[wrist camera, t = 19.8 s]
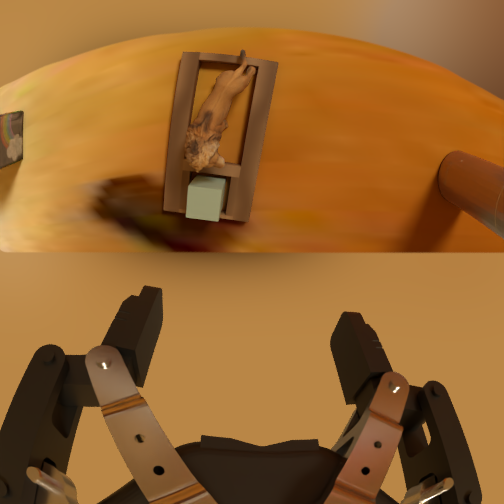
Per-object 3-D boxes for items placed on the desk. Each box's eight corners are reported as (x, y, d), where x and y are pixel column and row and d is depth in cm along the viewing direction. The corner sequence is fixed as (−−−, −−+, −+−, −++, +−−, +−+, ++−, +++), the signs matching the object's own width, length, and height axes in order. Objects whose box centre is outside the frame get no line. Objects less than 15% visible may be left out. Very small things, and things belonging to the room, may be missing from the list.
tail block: (226, 178, 37) (222, 189, 32) (222, 205, 39) (218, 221, 33) (197, 174, 36) (188, 185, 31) (194, 202, 38) (185, 217, 33)
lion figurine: (227, 157, 36) (218, 183, 29) (190, 146, 35) (171, 170, 28) (262, 55, 27) (264, 50, 20) (221, 44, 26) (208, 36, 19)
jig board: (277, 64, 29) (278, 62, 28) (248, 218, 40) (248, 222, 38) (185, 53, 28) (182, 51, 27) (166, 206, 39) (163, 210, 37)
